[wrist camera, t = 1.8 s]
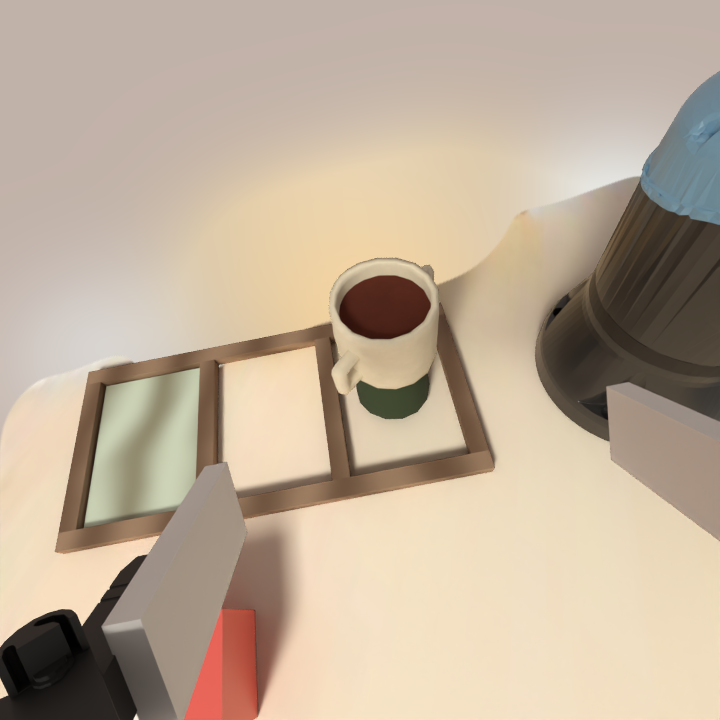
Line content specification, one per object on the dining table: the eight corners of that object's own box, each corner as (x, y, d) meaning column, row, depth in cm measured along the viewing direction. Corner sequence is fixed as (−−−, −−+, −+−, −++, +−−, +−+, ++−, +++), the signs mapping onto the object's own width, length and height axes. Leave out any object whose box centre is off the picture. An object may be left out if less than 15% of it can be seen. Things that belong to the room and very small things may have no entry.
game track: (440, 308, 42) (440, 302, 42) (492, 471, 34) (494, 467, 33) (95, 377, 43) (88, 372, 42) (63, 553, 35) (54, 552, 34)
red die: (254, 610, 31) (221, 608, 26) (257, 716, 28) (220, 739, 23) (172, 625, 31) (122, 627, 26) (166, 734, 28) (108, 760, 23)
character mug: (396, 328, 42) (389, 224, 31) (461, 365, 39) (478, 265, 28) (322, 414, 38) (284, 331, 27) (388, 462, 35) (375, 390, 24)
